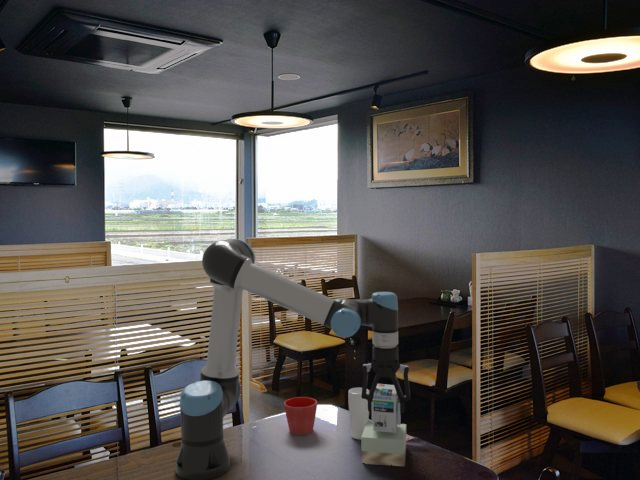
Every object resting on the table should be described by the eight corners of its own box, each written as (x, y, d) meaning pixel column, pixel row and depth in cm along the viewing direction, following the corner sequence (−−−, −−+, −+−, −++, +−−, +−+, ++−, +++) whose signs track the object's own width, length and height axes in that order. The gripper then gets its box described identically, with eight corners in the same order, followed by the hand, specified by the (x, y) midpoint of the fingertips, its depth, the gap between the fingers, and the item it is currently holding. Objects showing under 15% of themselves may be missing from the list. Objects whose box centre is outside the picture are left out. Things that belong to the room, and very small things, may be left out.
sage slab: (361, 450, 157) (361, 437, 157) (366, 434, 169) (366, 421, 168) (403, 454, 154) (403, 440, 154) (406, 437, 166) (406, 424, 166)
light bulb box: (396, 433, 155) (396, 396, 155) (372, 431, 157) (373, 394, 156) (398, 419, 166) (398, 384, 165) (375, 417, 167) (376, 382, 167)
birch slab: (362, 464, 157) (362, 451, 157) (366, 447, 169) (366, 434, 169) (404, 467, 155) (404, 453, 155) (405, 449, 167) (405, 436, 166)
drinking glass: (373, 435, 177) (373, 389, 176) (363, 442, 171) (363, 395, 170) (355, 431, 180) (354, 386, 180) (345, 438, 175) (344, 392, 174)
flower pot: (287, 424, 188) (287, 396, 187) (319, 425, 186) (319, 396, 186) (281, 436, 177) (280, 407, 177) (315, 437, 176) (314, 408, 175)
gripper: (350, 347, 158) (351, 425, 159) (419, 349, 155) (420, 429, 156) (353, 341, 165) (354, 416, 167) (419, 343, 162) (420, 419, 163)
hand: (386, 422), depth 161 cm, fingers open, 7 cm apart
